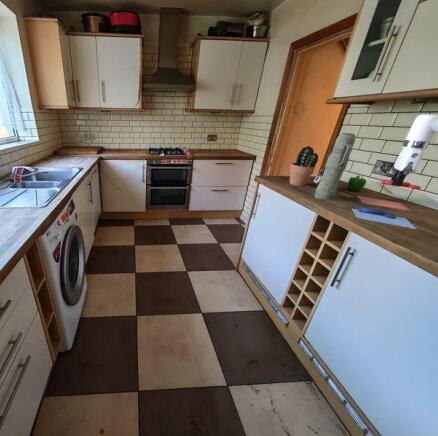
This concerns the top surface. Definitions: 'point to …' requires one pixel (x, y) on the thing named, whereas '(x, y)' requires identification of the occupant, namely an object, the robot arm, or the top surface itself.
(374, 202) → the red mat
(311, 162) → the potted plant
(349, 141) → the stone statue
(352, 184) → the bell pepper
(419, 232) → the top surface
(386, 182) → the red spoon
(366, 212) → the blue spoon
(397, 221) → the blue mat
